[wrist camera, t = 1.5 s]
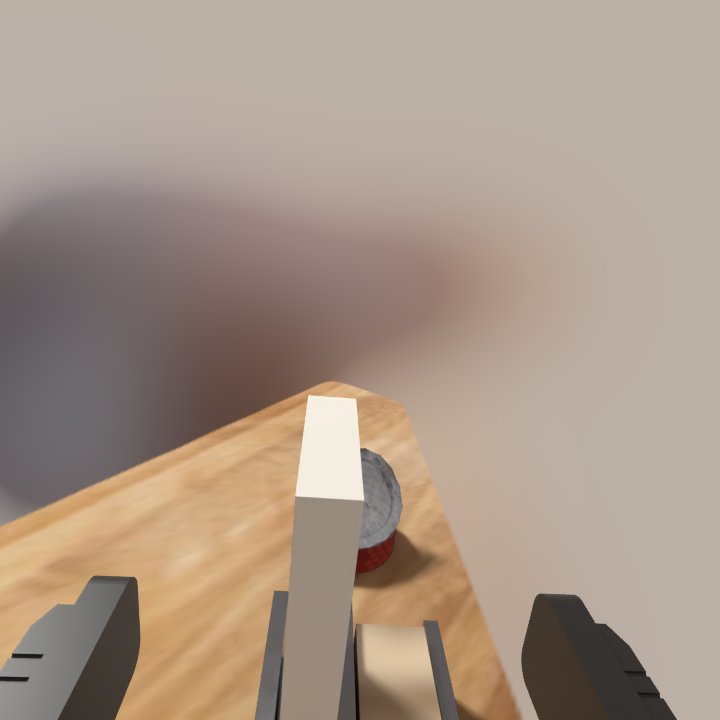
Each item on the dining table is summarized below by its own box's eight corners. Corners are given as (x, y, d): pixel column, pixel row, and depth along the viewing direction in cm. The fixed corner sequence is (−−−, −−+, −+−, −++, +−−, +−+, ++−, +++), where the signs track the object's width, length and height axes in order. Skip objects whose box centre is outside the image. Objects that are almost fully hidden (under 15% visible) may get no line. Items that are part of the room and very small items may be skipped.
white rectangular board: (318, 867, 26) (364, 500, 19) (269, 867, 26) (295, 496, 19) (323, 698, 35) (356, 399, 27) (286, 697, 35) (308, 395, 27)
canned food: (385, 566, 56) (440, 512, 51) (328, 614, 48) (387, 555, 43) (321, 485, 60) (367, 428, 55) (258, 516, 52) (306, 453, 47)
